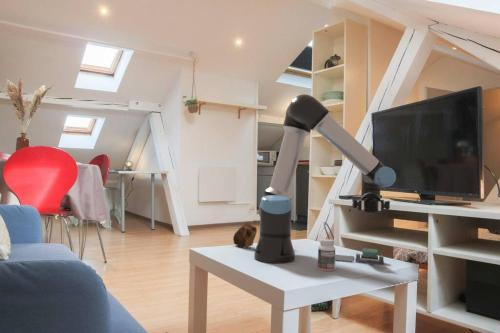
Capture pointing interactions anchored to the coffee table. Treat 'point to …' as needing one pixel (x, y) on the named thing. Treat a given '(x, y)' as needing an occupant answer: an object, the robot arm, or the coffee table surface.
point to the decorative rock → (245, 235)
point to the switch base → (369, 260)
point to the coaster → (344, 258)
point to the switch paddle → (369, 253)
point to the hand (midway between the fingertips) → (371, 206)
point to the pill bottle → (326, 255)
